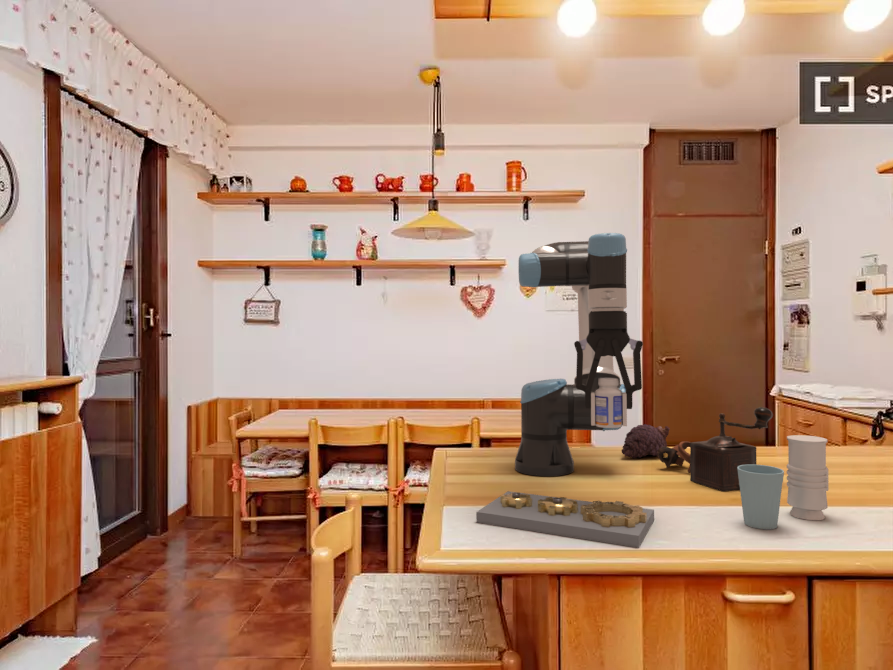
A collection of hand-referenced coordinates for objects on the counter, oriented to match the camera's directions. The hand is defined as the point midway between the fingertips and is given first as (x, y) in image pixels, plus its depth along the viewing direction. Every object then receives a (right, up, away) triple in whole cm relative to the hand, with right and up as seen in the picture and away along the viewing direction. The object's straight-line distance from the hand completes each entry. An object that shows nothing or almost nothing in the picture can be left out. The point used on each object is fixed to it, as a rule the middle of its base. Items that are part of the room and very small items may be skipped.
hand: (608, 424), depth 122 cm
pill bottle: (0, -1, 0) cm, 1 cm away
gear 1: (-12, -15, -6) cm, 20 cm away
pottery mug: (+27, -17, +33) cm, 46 cm away
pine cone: (+23, -17, +49) cm, 57 cm away
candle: (+37, -17, -5) cm, 41 cm away
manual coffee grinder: (+34, -17, +19) cm, 43 cm away
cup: (+25, -17, -10) cm, 32 cm away
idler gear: (-19, -15, -2) cm, 25 cm away
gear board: (-10, -17, -7) cm, 21 cm away
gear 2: (-2, -15, -11) cm, 19 cm away
